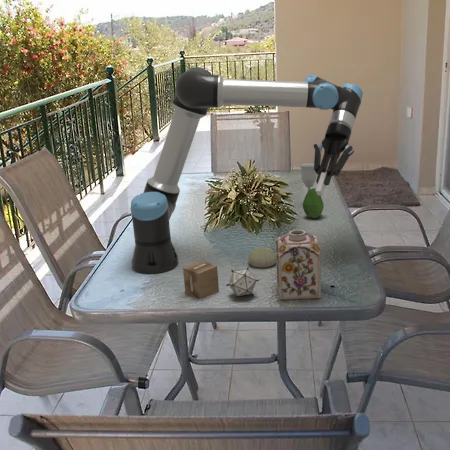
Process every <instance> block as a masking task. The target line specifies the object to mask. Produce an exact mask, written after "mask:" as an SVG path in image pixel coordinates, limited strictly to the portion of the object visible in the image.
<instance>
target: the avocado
mask: <svg viewBox="0 0 450 450" xmlns="http://www.w3.org/2000/svg"><path fill="white" fill-rule="evenodd" d="M316 188H317V187H312V188H310V190H309V191H308V190H307V191H308V192H307V191H306V192H307V193H306V195H305V196H304V199H303V202H302V209H303V212H304V214H305V215H306V216H307V217H308V218H310V219H317V218H319V217H320V216H321V215H322V214H323V210H324V201H323V198H322V196H320V195H318V194H317V192H316Z"/></svg>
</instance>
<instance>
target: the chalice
mask: <svg viewBox="0 0 450 450" xmlns="http://www.w3.org/2000/svg"><path fill="white" fill-rule="evenodd" d="M299 166H300V167H299V168H300V173H301V174H300V175H301V176H300V177H301V179H302V182H303V184H304V186H305V187H306V188H307V191H306V192H308V191H309V190H310V189H312V188H313V186H314V184H315V183H316V180H317V177H318V174H316V172H315V170H314V163H302V164H300V165H299Z"/></svg>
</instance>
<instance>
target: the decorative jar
mask: <svg viewBox="0 0 450 450" xmlns="http://www.w3.org/2000/svg"><path fill="white" fill-rule="evenodd" d="M275 249H276V250H275V254H276V255H277V257H276V258H277V261H276V282H277V284H276V285H277V293H278V298H279V300H280V301H281V300H283V301H285V300H286V301H287V300H306V299H307V300H309V299H310V300H311V299H313V300H314V299H320V298H321V296H322V277H321V276H322V274H321V273H322V272H321V271H322V268H321V267H322V266H321V265H322V264H321V262H322V261H321V248H320V244H319V238H318V237H317V236H315V235H313V234H310V233H309V232H306V231H305V230H303V229H292V230H291V231H289V232H288V233H286V234H283V235H281V236H278V237H277V238H276V241H275Z"/></svg>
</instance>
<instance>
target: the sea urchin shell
mask: <svg viewBox="0 0 450 450" xmlns="http://www.w3.org/2000/svg"><path fill="white" fill-rule="evenodd" d="M276 257H277V255H276V252H274V251H273V250H272V249H269V248H265V247H264V248H263V247H262V248H261V247H260V248H256V249H253V250H251V251H250V252H249V254H248V257H247V259H248V263H249V264H250V266H251V267H254V268H263V269H264V268H270V267H271V266H274V265H276V264H277V258H276Z"/></svg>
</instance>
